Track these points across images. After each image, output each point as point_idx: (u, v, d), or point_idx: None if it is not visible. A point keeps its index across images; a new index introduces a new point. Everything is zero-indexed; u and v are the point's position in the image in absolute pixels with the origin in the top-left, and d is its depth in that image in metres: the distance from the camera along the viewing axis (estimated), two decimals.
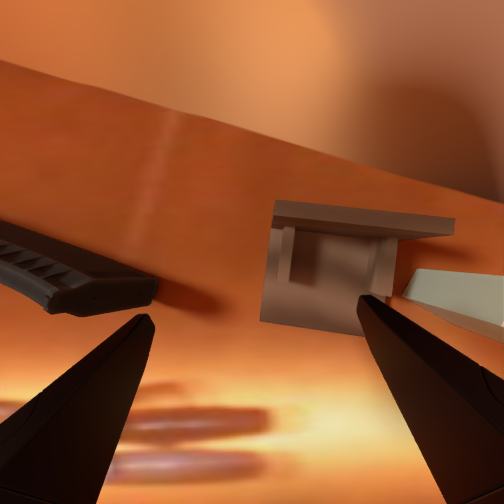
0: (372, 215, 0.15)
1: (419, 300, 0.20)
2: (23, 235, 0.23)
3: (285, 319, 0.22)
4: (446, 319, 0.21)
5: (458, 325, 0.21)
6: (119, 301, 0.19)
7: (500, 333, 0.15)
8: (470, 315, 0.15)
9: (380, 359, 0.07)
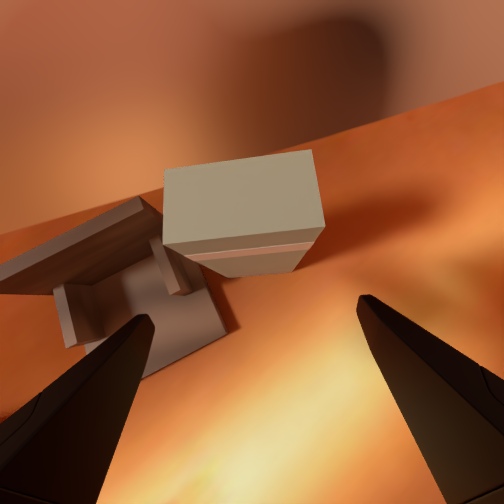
0: (68, 236, 0.14)
1: (222, 274, 0.18)
2: None
3: None
4: (273, 273, 0.20)
5: (283, 271, 0.19)
6: None
7: (242, 262, 0.13)
8: (205, 264, 0.13)
9: (380, 359, 0.07)
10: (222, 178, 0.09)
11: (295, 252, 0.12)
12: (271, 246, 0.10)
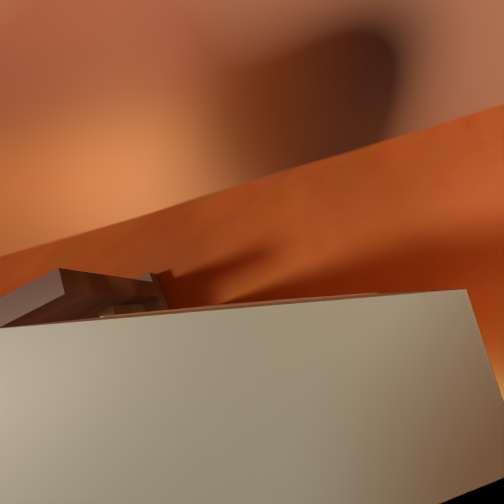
0: None
1: None
2: None
3: None
4: None
5: None
6: None
7: None
8: None
9: None
10: (154, 386, 0.02)
11: None
12: None
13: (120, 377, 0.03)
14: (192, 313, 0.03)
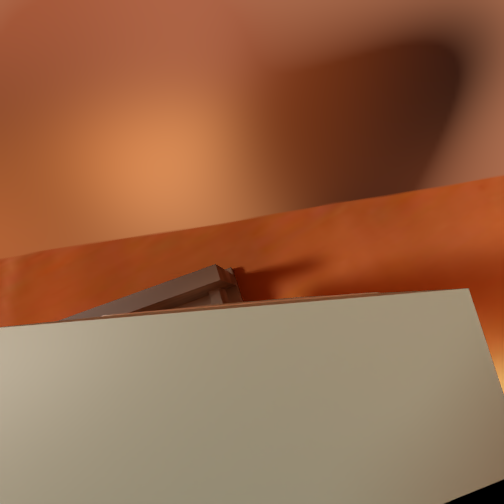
0: (143, 296, 0.15)
1: None
2: None
3: None
4: None
5: None
6: None
7: None
8: None
9: None
10: (156, 385, 0.02)
11: None
12: None
13: (122, 376, 0.03)
14: (194, 312, 0.03)
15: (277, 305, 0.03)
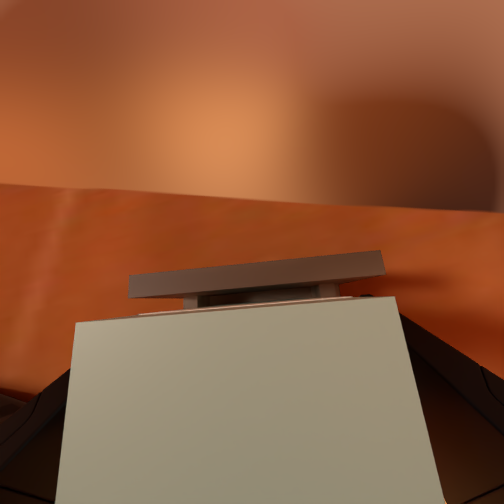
0: (265, 269, 0.10)
1: None
2: None
3: None
4: None
5: None
6: None
7: None
8: None
9: None
10: (196, 358, 0.04)
11: None
12: None
13: (173, 352, 0.04)
14: (219, 311, 0.04)
15: (273, 307, 0.04)
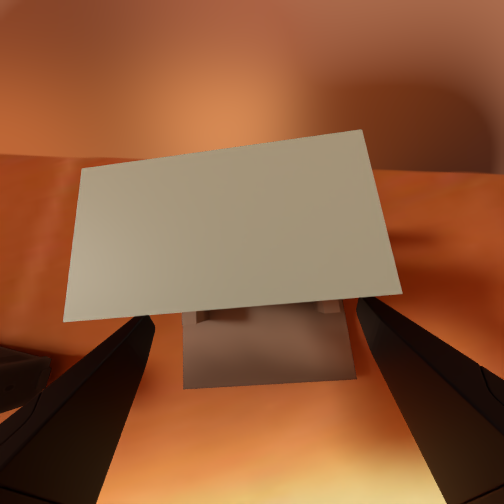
0: None
1: None
2: None
3: (218, 378, 0.15)
4: None
5: None
6: None
7: None
8: None
9: (380, 359, 0.07)
10: (188, 186, 0.04)
11: None
12: None
13: (168, 184, 0.04)
14: None
15: (256, 145, 0.05)
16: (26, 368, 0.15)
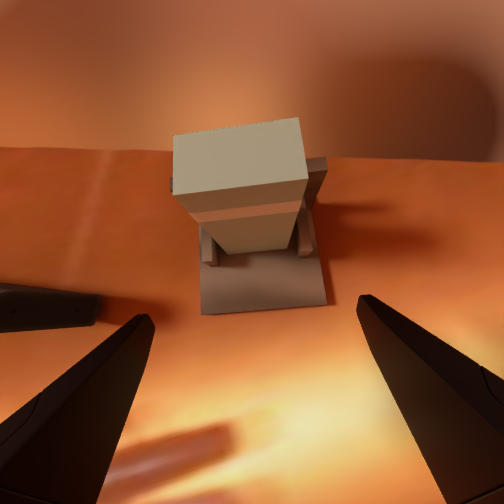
0: None
1: (222, 247, 0.20)
2: None
3: (227, 306, 0.21)
4: (269, 248, 0.21)
5: (279, 246, 0.21)
6: (49, 317, 0.18)
7: (240, 229, 0.15)
8: (207, 230, 0.15)
9: (380, 359, 0.07)
10: (223, 141, 0.10)
11: (287, 215, 0.13)
12: (265, 204, 0.11)
13: (214, 141, 0.10)
14: None
15: (252, 124, 0.10)
16: (86, 299, 0.21)
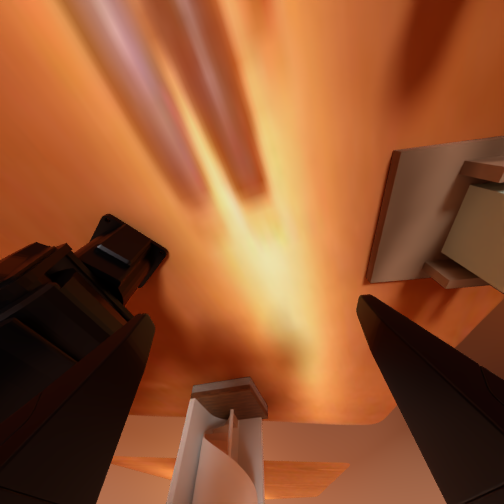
0: None
1: None
2: None
3: (400, 188, 0.17)
4: (454, 238, 0.18)
5: (453, 250, 0.18)
6: None
7: None
8: None
9: (380, 359, 0.07)
10: None
11: None
12: None
13: None
14: None
15: None
16: None
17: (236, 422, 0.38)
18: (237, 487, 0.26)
